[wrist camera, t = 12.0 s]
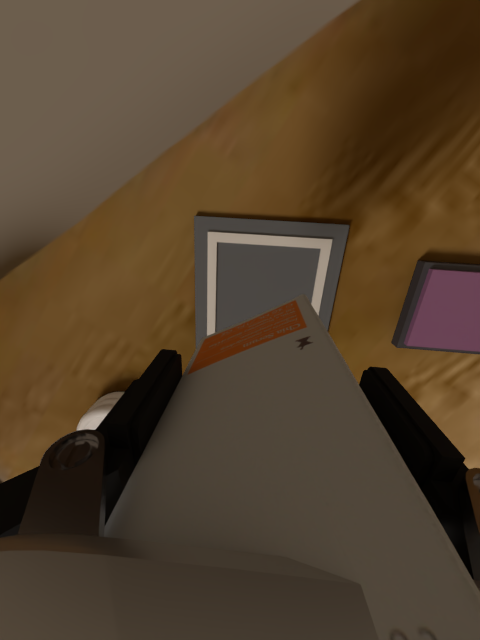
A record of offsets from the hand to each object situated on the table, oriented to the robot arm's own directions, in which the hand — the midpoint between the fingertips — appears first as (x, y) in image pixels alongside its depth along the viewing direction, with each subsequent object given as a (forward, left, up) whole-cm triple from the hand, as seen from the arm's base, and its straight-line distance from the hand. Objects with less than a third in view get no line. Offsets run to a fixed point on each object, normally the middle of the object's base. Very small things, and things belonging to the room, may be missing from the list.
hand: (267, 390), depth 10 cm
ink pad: (-18, 0, -14) cm, 23 cm away
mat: (0, 0, -14) cm, 14 cm away
